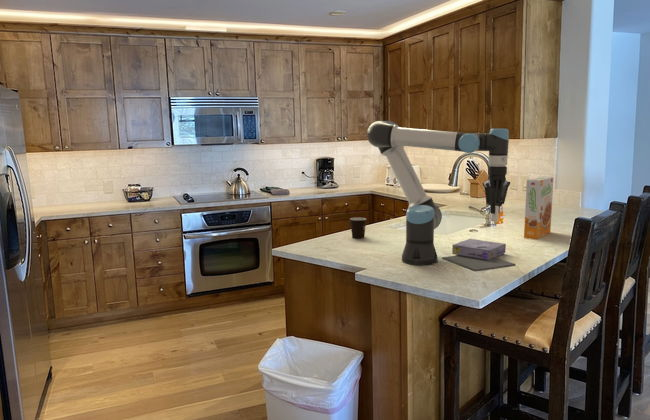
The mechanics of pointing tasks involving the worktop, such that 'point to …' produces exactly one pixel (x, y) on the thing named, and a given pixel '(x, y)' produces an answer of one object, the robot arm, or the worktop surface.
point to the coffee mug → (358, 227)
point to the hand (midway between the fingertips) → (494, 220)
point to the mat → (478, 262)
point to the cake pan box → (478, 249)
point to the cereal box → (538, 207)
